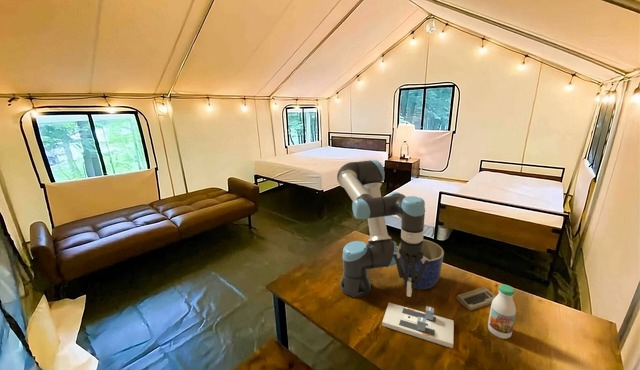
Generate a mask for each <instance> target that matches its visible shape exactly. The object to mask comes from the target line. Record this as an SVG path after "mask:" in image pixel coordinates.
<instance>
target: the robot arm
mask: <svg viewBox="0 0 640 370" xmlns="http://www.w3.org/2000/svg"><path fill="white" fill-rule="evenodd" d="M385 175H386V174H385V168H384V167H383V165H382V163H381V162H380V161H379V160H377V159H376V160H373V159H369V160H361V161H351V162H347V163H345V164H344V165H342V166H341V167H340V169H339V170H338V171H337V174H336V178H337V182H338V184H339V186H340V187H342V188H344V190H345V192H346V193H347V195H348V197H349V198H350V199H351V201H352V203H351V205H352V206H351V207H352V213H353V217H354V218H355V219H357V220H363V219H364V220H367V225H368V230H369V238H368V240H367V243H368V244H366V242H364V241H362V240H361V241H359V240H355V241H354V240H352V241H351V242H348V243H347V244H345V245H344V246H343V249H342V267H343V274H342V276H341V278H340V279H341V280H340V283H339V284H340V286H341V287H340V286H339V287H340V290H341V289H342V290H341V292H342V291H343V292H344V293H346V294H347V295H346V294H345V295H346V296H348V295H350V296H349V297H351V296H354V297H353V298H361V297H360V296H362V297H365V296H367V295H368V294H369V293H370V292H371V290H372V284H371V281H370V278H369V275H368V270H373V269H380V268H389V267H393V266H395V265H396V268H397V272H398V276H399V278H400V279H402V280H403V279H404V280H403V281H404V282H403V286H404V288H406V296H407V297H410V298H411V297H412V293H413V290H414V289H416V288H415V282H420V280H421V277H422V275H423V272H424V270H425V267H426V266H427V265H428V264H429V261H430V259H429V258H426V257H424V254H423V252H422V248H423V241H422V240H423V239H424V232H425V231H424V228H425V227H424V226H425V218H426V217H425V213H426V207H425V205H426V202H425V199H423V198H421V197H418V196H415V195H412V196H406V195H404V194H403V193H400V192H398V191H394V192H391V193H389V194H388V196H387V195H386V196H382V195H381V194H382V193H381V186H382V185H383V181H384V180H385ZM390 216H391V217H392V216H398V217H399V219H400V220H401V226H400V227H401V228H400V243H401V249H400V250H399V248H398V247H399V246H398V245H397V242H396V241H394V240H392V239H393V238H392V237H391V236H390V235H389V233H388V229H387V224H386V217H390ZM400 255H401V257H402V258H403V260H404V261H405V271H404V272H403V268H402V263H401V259H400ZM421 259H422V266H421V269H420V271H419V274H418V276H417V277H416V263H418V262H419V261H420V260H421ZM409 263H412V277H411V278H409ZM343 292H342V293H343ZM344 293H343V294H344ZM366 294H367V295H366ZM364 295H365V296H364Z"/></svg>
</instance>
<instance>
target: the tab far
mask: <svg viewBox="0 0 640 370" xmlns="http://www.w3.org/2000/svg"><path fill="white" fill-rule="evenodd" d="M434 311H435V308H434V307H431V306H428V305H426V307H425V318H426V319H430V320H433V315H435V314H434V313H435V312H434Z"/></svg>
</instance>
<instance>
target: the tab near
mask: <svg viewBox="0 0 640 370" xmlns="http://www.w3.org/2000/svg"><path fill="white" fill-rule="evenodd" d="M425 328H426V318H422V317H419V316H418V320H417V329H418V330H421V331H424V332H425Z"/></svg>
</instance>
